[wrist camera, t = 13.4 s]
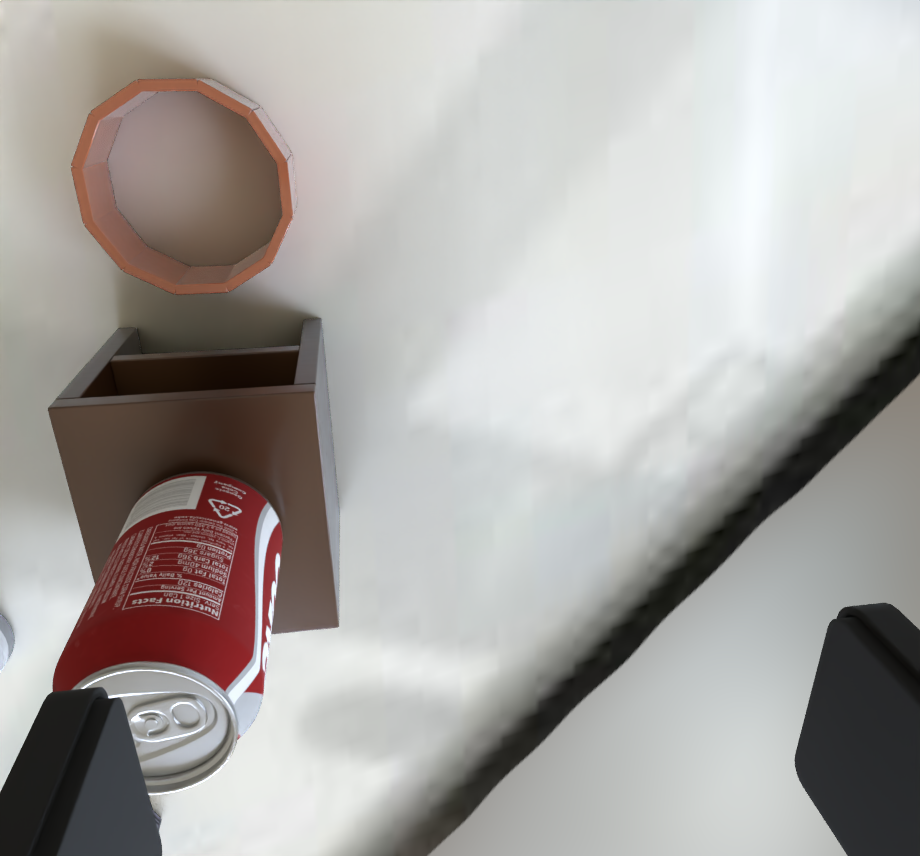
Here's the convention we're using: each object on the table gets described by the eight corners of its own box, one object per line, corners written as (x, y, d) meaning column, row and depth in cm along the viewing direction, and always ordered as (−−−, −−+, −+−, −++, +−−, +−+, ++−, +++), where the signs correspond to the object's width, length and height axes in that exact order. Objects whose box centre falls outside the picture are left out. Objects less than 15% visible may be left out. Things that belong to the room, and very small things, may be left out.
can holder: (284, 77, 37) (278, 77, 33) (304, 270, 41) (300, 289, 37) (80, 79, 36) (50, 80, 32) (121, 278, 40) (99, 298, 36)
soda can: (108, 481, 33) (-7, 681, 22) (260, 449, 33) (221, 629, 22) (160, 601, 36) (82, 828, 25) (300, 570, 36) (282, 781, 25)
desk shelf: (321, 317, 42) (315, 391, 32) (339, 514, 48) (339, 628, 38) (117, 328, 41) (46, 408, 31) (161, 528, 46) (112, 651, 36)
